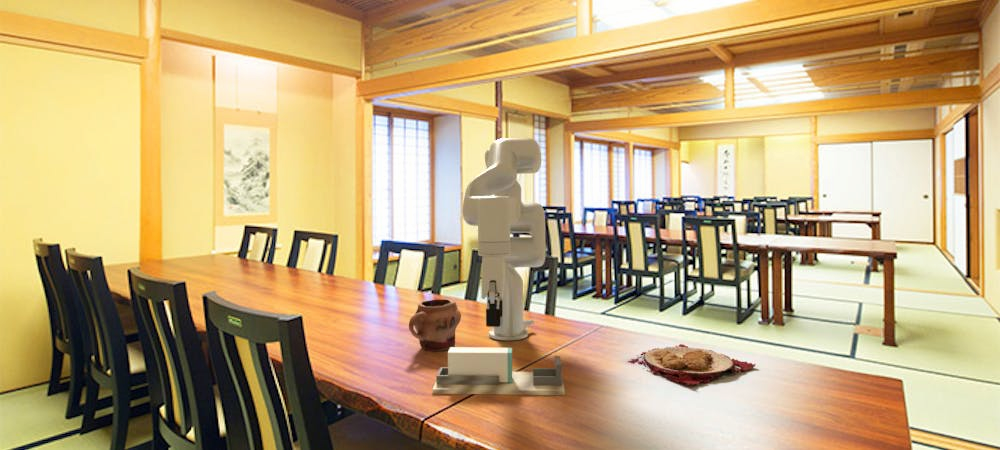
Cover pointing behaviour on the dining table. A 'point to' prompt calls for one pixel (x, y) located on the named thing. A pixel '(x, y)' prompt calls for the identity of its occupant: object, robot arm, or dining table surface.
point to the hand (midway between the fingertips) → (494, 321)
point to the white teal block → (481, 362)
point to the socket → (548, 375)
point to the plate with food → (690, 364)
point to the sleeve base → (491, 385)
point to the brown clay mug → (435, 324)
